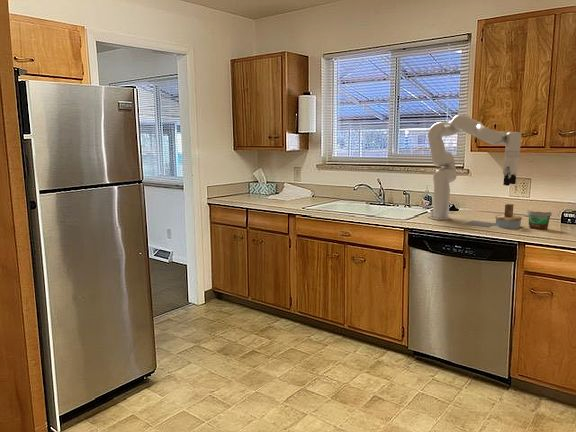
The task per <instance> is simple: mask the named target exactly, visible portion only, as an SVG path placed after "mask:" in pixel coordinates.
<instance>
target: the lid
mask: <svg viewBox="0 0 576 432" xmlns="http://www.w3.org/2000/svg"><path fill="white" fill-rule="evenodd" d="M514 207H515V205H514V204H512V203H511V204H510V203H506V204H505V205H504V214H497V215H496V214H495V220H496V219H499V220H506V221H519V220H521V221H522V218H523V217H521V216H520V215H514Z"/></svg>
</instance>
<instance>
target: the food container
mask: <svg viewBox="0 0 576 432" xmlns="http://www.w3.org/2000/svg"><path fill="white" fill-rule="evenodd" d="M527 215H528V229H532V230H537V231H539V230H540V231H545V230H548V228H549V222H550V218H551V217H552V215H553V214H552V211H548V212H545V211H544V212H543V211H532V210H529V209H528V211H527Z"/></svg>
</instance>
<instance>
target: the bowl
mask: <svg viewBox="0 0 576 432" xmlns="http://www.w3.org/2000/svg"><path fill="white" fill-rule="evenodd" d="M495 223H496V225H495V226H496V227H498V228H502V229H519V228H521V223H522V219H521V220H519V221H506V220H499V219H496V218H495Z"/></svg>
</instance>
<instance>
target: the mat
mask: <svg viewBox="0 0 576 432" xmlns="http://www.w3.org/2000/svg"><path fill="white" fill-rule="evenodd" d="M463 225H468V226H475V227H481V228H483V227H484V228H490V227H493V226H496V222H487V221H479V220H471V221H468V222H464V223H463Z"/></svg>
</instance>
